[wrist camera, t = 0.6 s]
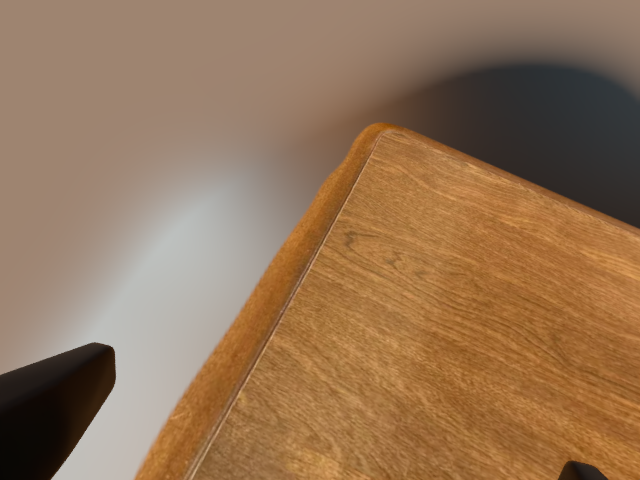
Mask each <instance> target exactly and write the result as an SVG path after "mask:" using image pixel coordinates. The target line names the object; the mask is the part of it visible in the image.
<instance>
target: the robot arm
mask: <svg viewBox="0 0 640 480" xmlns="http://www.w3.org/2000/svg"><path fill="white" fill-rule="evenodd" d="M115 380H116V370H115V351H114V349H113V347H111V346H109V345H104V344H100V343H95V342H94V343H90V344H87V345H84V346H81V347H78V348H75V349H73V350H70V351H67V352H64V353H61V354H58V355H56V356H53V357H50V358H47V359H44V360H42V361H39V362H36V363H33V364H30V365H27V366H25V367H22V368H19V369H16V370H13V371H10V372H7V373H4V374H2V375H0V480H51V479H52V477H53V476H54V475H55V474H56V472H57V471H58V470H59V469H60V467H61V466H62V464H63V463H64V461H66V459H67V458H68V457H69V455H70V454H71V452H72V451H73V449H74V448H75V446H76V445H77V443H78V442H79V440H80V439H81V437H82V436H83V434H84V432H85V431H86V430H87V428H88V426H89V425H90V423H91V422H92V420H93V419H94V417H95V416H96V414H97V413H98V411H99V410H100V408H101V406H102V405H103V403H104V402H105V400H106V399H107V397H108V395H109V394H110V393H111V391H112V389H113V387H114V384H115ZM558 480H608V479H607V478H606V477H605V476H604V475H603V474H602V473H601V472H600V471H599V470H598V469H597V468H596V467H594V466H592V465H589V464H585V463H581V462H577V461H568V462H567V463H566V464H565V466H564V467H563V470H562V472H561V474H560V476H559V478H558Z"/></svg>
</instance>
